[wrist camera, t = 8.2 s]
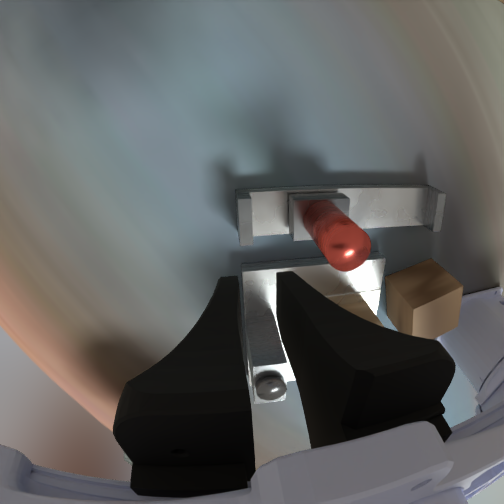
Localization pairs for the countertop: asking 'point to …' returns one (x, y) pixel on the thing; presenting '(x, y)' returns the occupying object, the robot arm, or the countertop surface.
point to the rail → (360, 211)
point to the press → (264, 312)
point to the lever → (329, 228)
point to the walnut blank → (423, 300)
